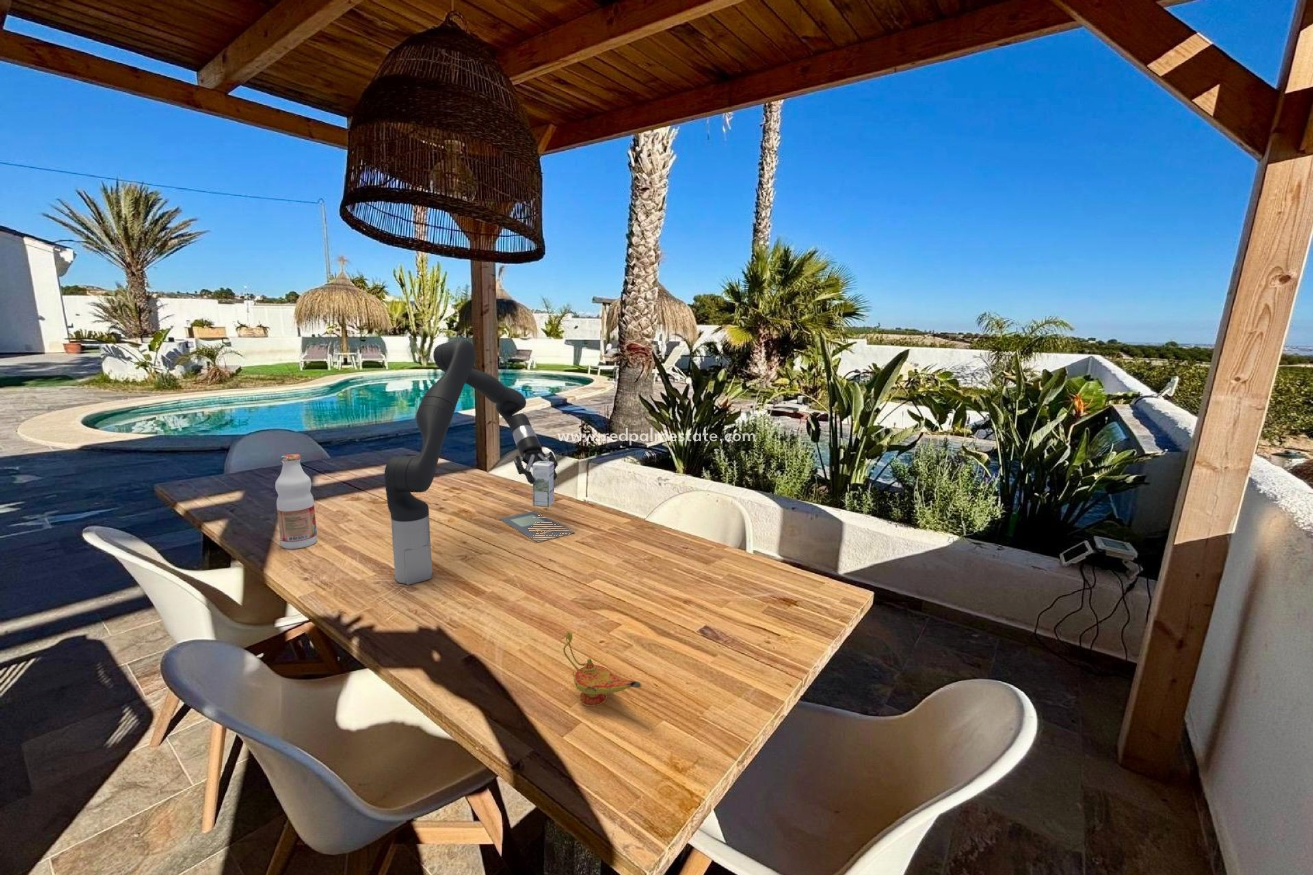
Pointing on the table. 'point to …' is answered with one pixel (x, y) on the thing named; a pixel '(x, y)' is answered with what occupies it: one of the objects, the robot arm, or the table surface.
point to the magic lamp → (596, 680)
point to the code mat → (527, 520)
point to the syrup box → (543, 483)
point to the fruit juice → (295, 505)
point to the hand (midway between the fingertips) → (543, 480)
